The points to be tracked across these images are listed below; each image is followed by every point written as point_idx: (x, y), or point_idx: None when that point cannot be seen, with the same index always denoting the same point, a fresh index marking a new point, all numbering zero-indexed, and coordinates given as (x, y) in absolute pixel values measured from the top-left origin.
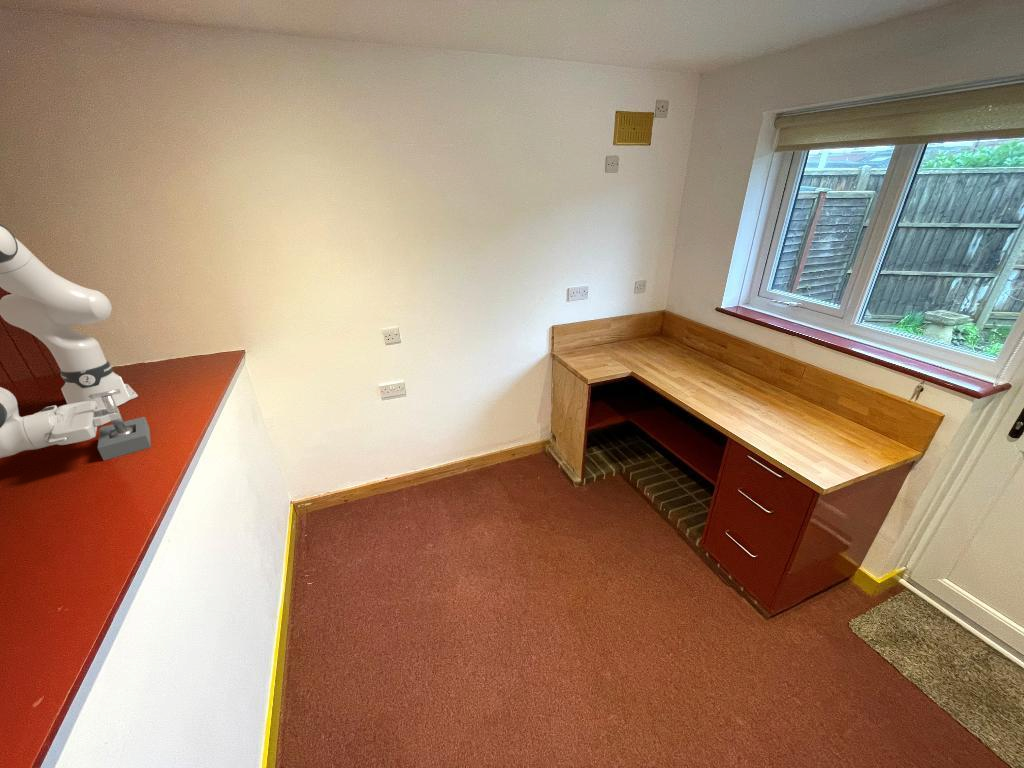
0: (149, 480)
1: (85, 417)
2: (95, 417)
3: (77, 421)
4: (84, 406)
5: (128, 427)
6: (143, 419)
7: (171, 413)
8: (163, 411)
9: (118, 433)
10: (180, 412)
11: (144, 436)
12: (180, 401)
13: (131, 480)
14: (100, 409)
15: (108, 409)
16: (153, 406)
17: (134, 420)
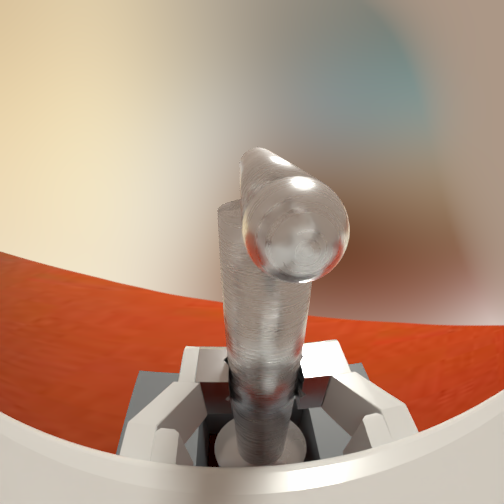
0: (498, 357)
1: (430, 475)
2: (379, 437)
3: (497, 490)
4: (4, 482)
5: (225, 425)
6: (169, 376)
7: (92, 347)
8: (58, 356)
9: (279, 458)
10: (109, 333)
11: (361, 368)
12: (43, 321)
13: (500, 387)
14: (154, 427)
15: (301, 346)
16: (6, 361)
17: (147, 402)
